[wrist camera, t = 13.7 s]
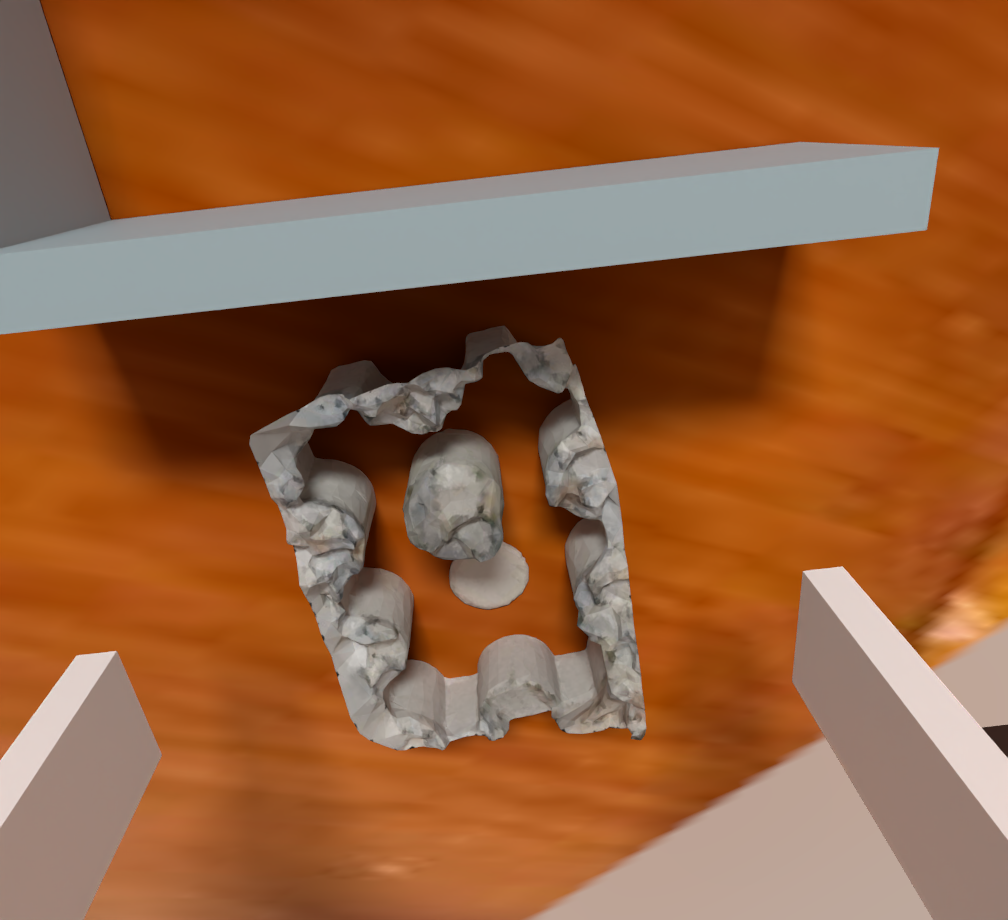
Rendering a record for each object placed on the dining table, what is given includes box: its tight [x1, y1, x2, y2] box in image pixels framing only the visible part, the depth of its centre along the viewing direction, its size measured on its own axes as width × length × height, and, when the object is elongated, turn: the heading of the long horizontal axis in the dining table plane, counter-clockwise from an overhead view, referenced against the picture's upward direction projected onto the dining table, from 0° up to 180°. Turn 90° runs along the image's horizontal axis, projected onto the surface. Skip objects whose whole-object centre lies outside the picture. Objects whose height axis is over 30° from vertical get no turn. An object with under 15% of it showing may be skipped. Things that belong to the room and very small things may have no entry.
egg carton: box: [249, 325, 646, 750], centre depth 17 cm, size 11×8×4 cm
